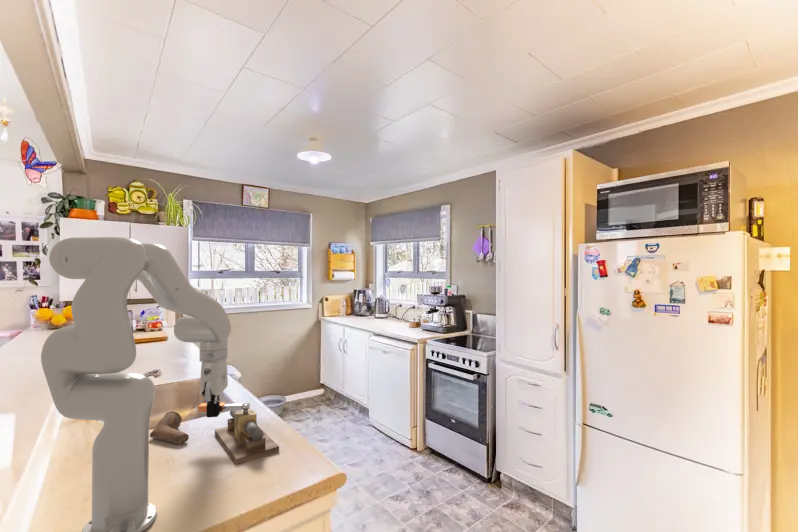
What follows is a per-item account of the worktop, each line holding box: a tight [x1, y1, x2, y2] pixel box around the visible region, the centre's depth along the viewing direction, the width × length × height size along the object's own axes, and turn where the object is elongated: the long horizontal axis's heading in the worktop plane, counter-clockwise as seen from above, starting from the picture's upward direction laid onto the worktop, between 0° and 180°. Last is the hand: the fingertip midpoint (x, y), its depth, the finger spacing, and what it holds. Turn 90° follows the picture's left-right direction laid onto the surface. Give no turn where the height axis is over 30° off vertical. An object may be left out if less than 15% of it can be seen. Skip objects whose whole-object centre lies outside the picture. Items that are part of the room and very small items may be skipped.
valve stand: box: [214, 408, 280, 465], centre depth 117 cm, size 24×12×10 cm, turn 39°
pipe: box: [149, 410, 190, 446], centre depth 121 cm, size 6×17×10 cm
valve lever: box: [197, 402, 251, 413], centre depth 117 cm, size 3×15×2 cm, turn 95°
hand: (213, 416), depth 113 cm, fingers closed
